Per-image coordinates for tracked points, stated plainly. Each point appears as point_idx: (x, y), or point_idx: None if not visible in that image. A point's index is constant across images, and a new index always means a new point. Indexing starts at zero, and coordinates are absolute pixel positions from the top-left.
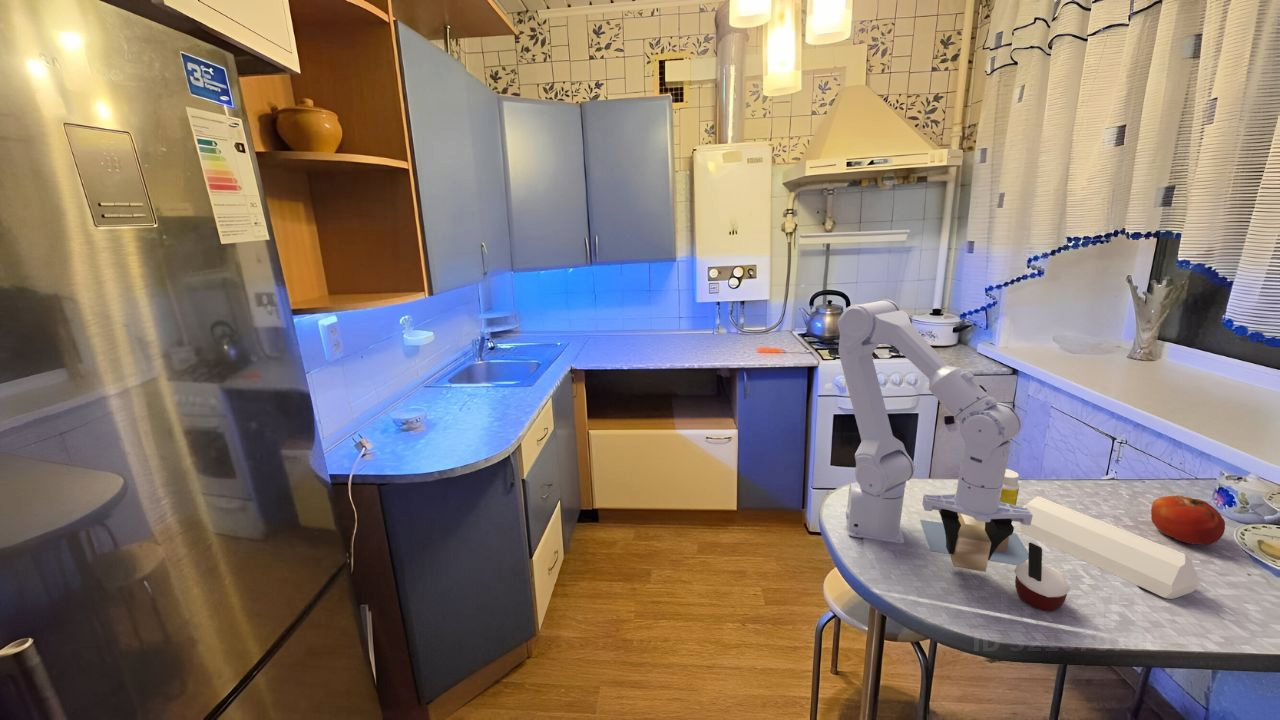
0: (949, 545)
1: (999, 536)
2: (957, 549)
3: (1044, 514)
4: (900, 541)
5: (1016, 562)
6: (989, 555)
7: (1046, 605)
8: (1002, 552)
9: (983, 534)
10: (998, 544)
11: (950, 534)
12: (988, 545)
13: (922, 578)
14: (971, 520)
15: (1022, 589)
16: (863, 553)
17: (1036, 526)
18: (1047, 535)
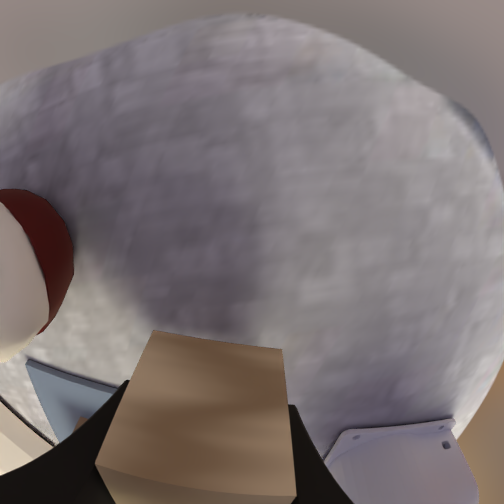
0: (311, 440)
1: (42, 491)
2: (288, 423)
3: (11, 470)
4: (353, 435)
5: (62, 385)
6: (120, 397)
7: (12, 189)
8: (88, 415)
9: (130, 501)
10: (64, 443)
11: (337, 501)
12: (114, 447)
13: (370, 308)
14: None
15: (48, 243)
16: (463, 372)
17: (27, 453)
18: (13, 433)
